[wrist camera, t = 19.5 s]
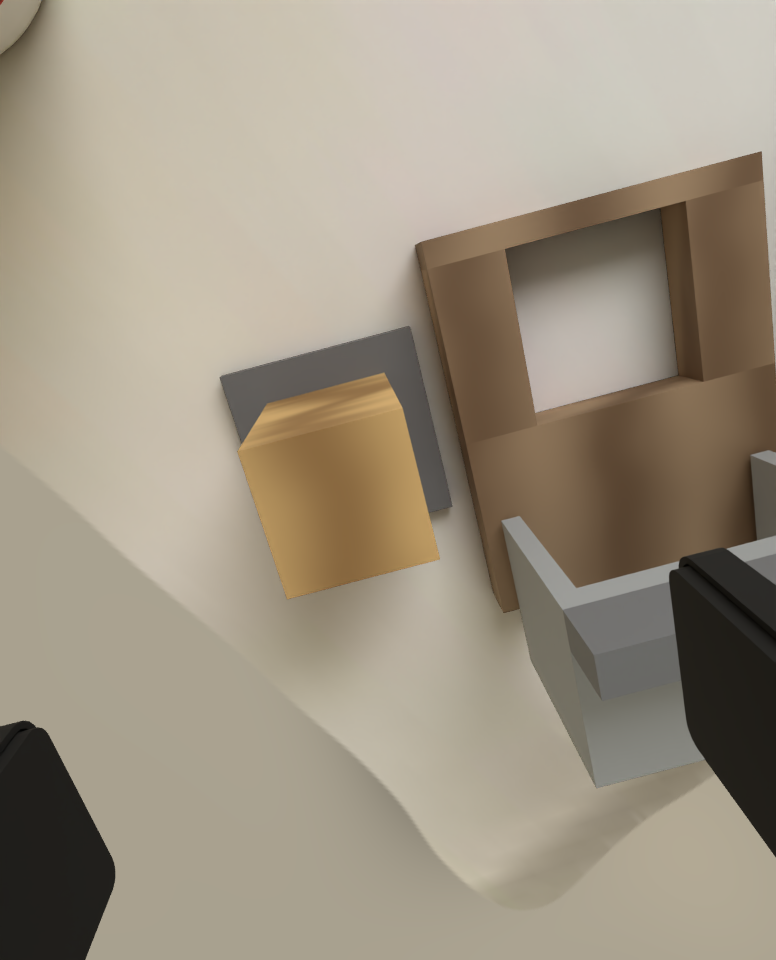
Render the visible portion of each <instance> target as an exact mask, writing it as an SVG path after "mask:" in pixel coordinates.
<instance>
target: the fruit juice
mask: <svg viewBox="0 0 776 960" xmlns="http://www.w3.org/2000/svg"><path fill="white" fill-rule="evenodd" d="M41 1H42V0H0V54H1V53H3V52H4V51H6V50H7V49H8V48H9V47H10V46H12V45H13V44H14V43H15V42H16V41H17V40H18V39H19V38H20V36H21V35H22V34H23V33H24V32H25V30H26V29H27V28H28V26H29V25H30V23H31V22H32V20H33V18H34V16H35V14H36V12H37V11H38V8H39V6H40V4H41Z"/></svg>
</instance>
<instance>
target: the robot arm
mask: <svg viewBox="0 0 776 960" xmlns="http://www.w3.org/2000/svg"><path fill="white" fill-rule="evenodd" d="M669 585H670V594H671V602H672V610H673V618H674V626H675V634H676V642H677V650H678V658H679V667H680V675H681V683H682V691H683V699H684V707H685V715H686V722H687V726H688V730H689V733H690V735H691V738H692V740H693V742H694V744H695V746H696V747H697V749H698V750H699V752H700V753H701V754H702V756H703V757H704V759H705V760H706V761H707V763H708V764H709V766H710V767H711V768H712V770H713V771H714V772H715V774H716V775H717V777H718V778H719V779H720V781H721V782H722V784H723V785H724V786H725V788H726V789H727V790H728V792H729V793H730V795H731V796H732V797H733V799H734V800H735V801H736V803H737V804H738V806H739V807H740V808H741V810H742V811H743V813H744V814H745V815H746V816H747V818H748V819H749V821H750V822H751V824H752V825H753V826H754V828H755V829H756V831H757V832H758V833H759V835H760V836H761V837H762V839H763V840H764V841H765V843H766V844H767V846H768V847H769V849H770V850H771V851H772V853H773V854H774V855H775V857H776V585H775V584H774V583H772V582H771V581H770V580H768V579H767V578H766V577H764V576H763V575H761V574H760V573H759V572H757V571H756V570H755V569H753V568H752V567H751V566H749V565H748V564H747V563H745V562H744V561H743V560H741V559H740V558H738V557H737V556H736V555H734V554H733V553H732V552H730V551H729V550H727V549H725V548H716V549H712V550H708V551H704V552H700V553H696V554H692V555H688V556H684V557H682V558H681V559H680V561H679V569H674V570H671V571H670V573H669ZM114 883H115V866H114V862H113V859H112V857H111V855H110V853H109V851H108V849H107V847H106V845H105V843H104V841H103V839H102V837H101V835H100V833H99V831H98V830H97V828H96V826H95V824H94V822H93V820H92V818H91V816H90V814H89V812H88V810H87V809H86V807H85V804H84V802H83V800H82V799H81V797H80V795H79V793H78V791H77V789H76V787H75V785H74V783H73V781H72V779H71V777H70V776H69V773H68V771H67V770H66V768H65V766H64V764H63V762H62V760H61V758H60V756H59V754H58V752H57V750H56V748H55V746H54V744H53V742H52V741H51V739H50V737H49V735H48V733H47V732H46V731H45V730H44V729H42V728H36V727H35V725H34V724H32V723H30V722H29V721H20V722H17V723H12V724H9V725H5V726H0V960H85V959H86V956H87V953H88V951H89V949H90V946H91V943H92V941H93V938H94V936H95V933H96V931H97V928H98V925H99V923H100V921H101V918H102V915H103V913H104V910H105V908H106V905H107V903H108V900H109V898H110V895H111V892H112V890H113V887H114Z"/></svg>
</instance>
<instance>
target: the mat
mask: <svg viewBox="0 0 776 960" xmlns="http://www.w3.org/2000/svg"><path fill="white" fill-rule="evenodd" d="M381 373H385V375H386V377H387V379H388V381H389V383H390V385H391V387H392V389H393V391H394V392H395V394H396V396H397V398H398V400H399V402H400V404H401V406H402V408H403V412H404V416H405V420H406V424H407V428H408V432H409V436H410V440H411V444H412V448H413V452H414V456H415V460H416V464H417V468H418V472H419V476H420V481H421V485H422V489H423V493H424V497H425V501H426V505H427V509H428V513H429V512H433V511H437V510H441V509H445V508H448V507H452V502H451V498H450V494H449V489H448V485H447V481H446V477H445V472H444V468H443V464H442V460H441V455H440V451H439V447H438V443H437V438H436V434H435V430H434V426H433V422H432V417H431V413H430V409H429V405H428V400H427V396H426V392H425V388H424V383H423V379H422V375H421V371H420V366H419V362H418V358H417V354H416V349H415V345H414V341H413V337H412V333H411V328H410V327H409V326H407V327H404V328H400V329H396V330H392V331H388V332H385V333H381V334H377V335H373V336H370V337H366V338H362V339H358V340H355V341H351V342H347V343H343V344H340V345H336V346H332V347H328V348H324V349H321V350H317V351H313V352H309V353H306V354H302V355H298V356H294V357H291V358H287V359H283V360H279V361H275V362H272V363H268V364H264V365H260V366H257V367H253V368H249V369H245V370H242V371H238V372H234V373H230V374H226V375H223V376H221V377H220V380H221V383H222V386H223V389H224V392H225V395H226V398H227V401H228V404H229V407H230V410H231V413H232V416H233V419H234V422H235V425H236V428H237V431H238V434H239V437H240V440H241V443H243V442H244V440H245V439H246V437H247V435H248V434H249V432H250V431H251V429H252V427H253V426H254V424H255V422H256V421H257V419H258V418H259V416H260V414H261V413H262V411H263V410H264V408H265V406H266V405H267V403H271V402H275V401H279V400H282V399H286V398H290V397H294V396H298V395H301V394H305V393H309V392H313V391H317V390H320V389H324V388H328V387H332V386H336V385H339V384H343V383H347V382H351V381H355V380H358V379H362V378H366V377H370V376H373V375H377V374H381Z"/></svg>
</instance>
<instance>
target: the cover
mask: <svg viewBox="0 0 776 960" xmlns="http://www.w3.org/2000/svg"><path fill="white" fill-rule="evenodd" d="M750 457H751V470H752V483H753V495H754V508H755V520H756V533H757V541H754V542H750V543H746V544H742V545H738V546H735V547H731V548H727V550H729V551H730V552H732V553H733V554H734V555H736V556H737V557H738V558H740V559H741V560H743V561H744V562H745V563H747V564H748V565H749V566H751V567H752V568H753V569H755V570H756V571H757V572H759V573H760V574H761V575H763V576H764V577H766V578H767V579H768V580H770V581H771V582H772V583H774V584H775V585H776V453H775V452H772V451H770V450H767V451H764V452H760V453H756V454H752V455H750ZM501 522H502V527H503V532H504V536H505V541H506V546H507V550H508V555H509V560H510V565H511V569H512V574H513V579H514V583H515V588H516V593H517V598H518V602H519V607H520V612H521V616H522V621H523V626H524V631H525V635H526V640H527V645H528V649H529V654H530V659H531V662H532V664H533V665H534V667H535V669H536V671H537V673H538V675H539V677H540V679H541V681H542V683H543V685H544V687H545V689H546V691H547V693H548V695H549V697H550V699H551V701H552V703H553V705H554V707H555V708H556V710H557V712H558V714H559V716H560V718H561V720H562V722H563V724H564V726H565V728H566V730H567V732H568V734H569V736H570V738H571V740H572V742H573V744H574V746H575V748H576V750H577V751H578V753H579V755H580V757H581V759H582V761H583V763H584V765H585V767H586V769H587V771H588V773H589V775H590V777H591V779H592V781H593V783H594V785H595V787H596V788H599V787H603V786H607V785H611V784H615V783H618V782H622V781H626V780H630V779H634V778H638V777H641V776H645V775H649V774H653V773H657V772H660V771H664V770H668V769H672V768H676V767H680V766H683V765H687V764H691V763H695V762H699V761H702V760H705V759H704V757H703V756H702V754H701V753H700V752H699V750H698V749H697V747H696V746H695V744H694V742H693V740H692V738H691V735H690V733H689V730H688V726H687V722H686V715H685V707H684V699H683V691H682V683H681V675H680V667H679V658H678V650H677V642H676V634H675V626H674V618H673V610H672V602H671V594H670V585H669V573H670V571H671V570H674V569H679V561H678V562H674V563H670V564H666V565H662V566H659V567H655V568H651V569H647V570H643V571H640V572H636V573H632V574H628V575H624V576H621V577H617V578H613V579H609V580H606V581H602V582H598V583H594V584H590V585H587V586H583V587H579V588H576V587H575V586H574V585H573V583H572V582H571V581H570V579H569V578H568V577H567V576H566V574H565V573H564V572H563V571H562V569H561V568H560V567H559V565H558V564H557V563H556V562H555V560H554V559H553V558H552V557H551V555H550V554H549V553H548V551H547V550H546V549H545V548H544V546H543V545H542V544H541V543H540V541H539V540H538V539H537V537H536V536H535V535H534V534H533V532H532V531H531V530H530V528H529V527H528V526H527V525H526V523H525V522H524V521H523V520H522V518H521V517H520V516H517V517H513V518H510V519H506V520H502V521H501Z"/></svg>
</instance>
